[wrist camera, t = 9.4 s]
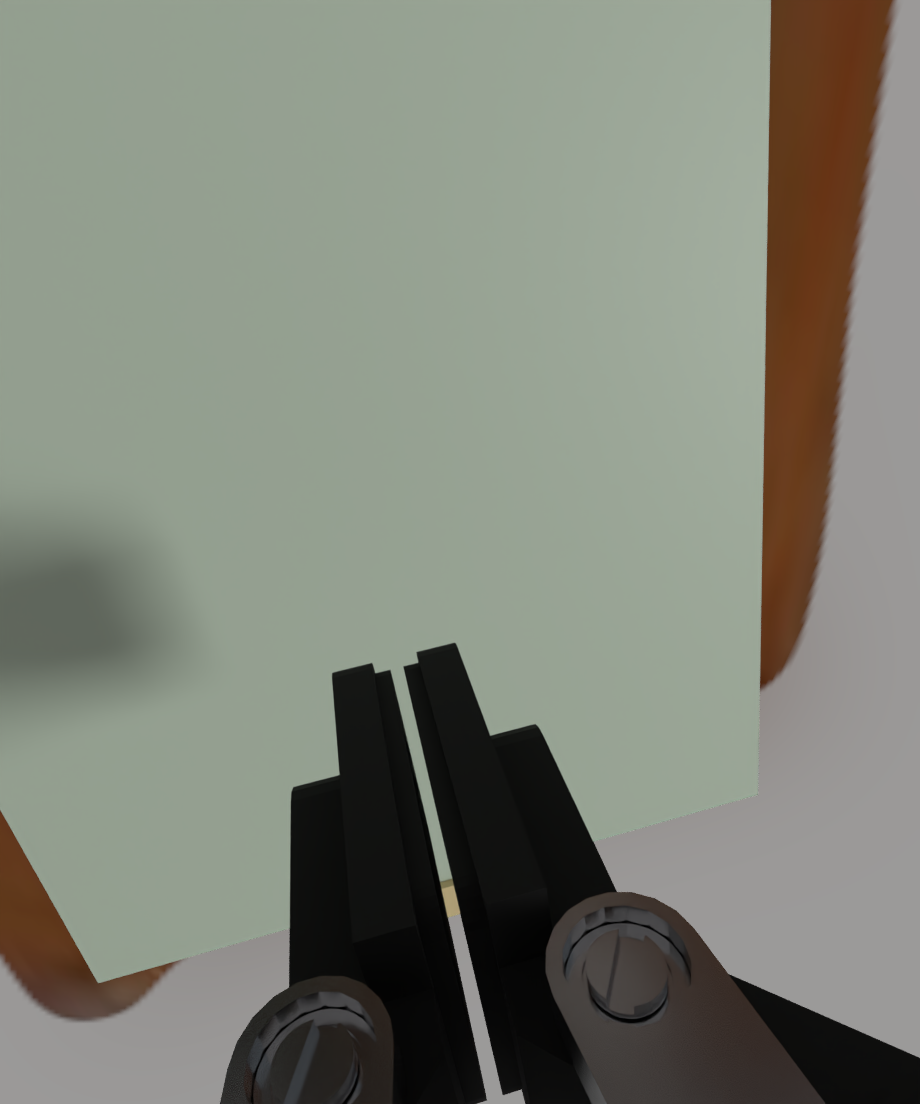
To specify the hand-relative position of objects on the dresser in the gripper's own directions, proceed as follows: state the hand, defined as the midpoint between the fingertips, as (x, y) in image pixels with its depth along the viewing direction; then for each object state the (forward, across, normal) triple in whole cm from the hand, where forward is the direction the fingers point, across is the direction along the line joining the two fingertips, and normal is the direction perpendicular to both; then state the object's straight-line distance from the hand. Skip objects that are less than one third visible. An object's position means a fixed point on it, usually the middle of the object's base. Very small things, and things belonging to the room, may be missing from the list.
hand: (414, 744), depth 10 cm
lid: (+8, 0, 0) cm, 8 cm away
